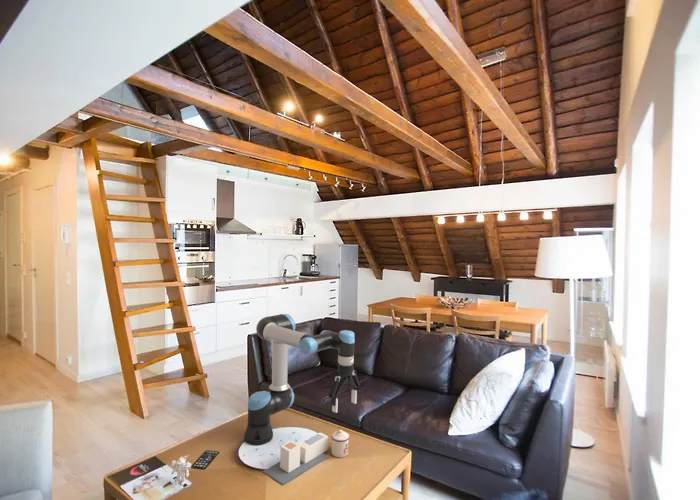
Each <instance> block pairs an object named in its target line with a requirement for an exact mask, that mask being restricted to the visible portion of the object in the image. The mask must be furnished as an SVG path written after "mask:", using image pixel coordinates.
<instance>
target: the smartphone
mask: <svg viewBox="0 0 700 500" xmlns="http://www.w3.org/2000/svg"><path fill="white" fill-rule="evenodd" d="M219 454H220V451H217V450H209V449H208V450H205V451H204V452H203V453H202V454H201V455H200V456H199V457H198V458H197V459H196V460H195V461H194V463H193V464H191V466H190V467H191V468H190V469H194V470H202V471H204V470H206V469H207V468H208V467H209V466H210V465H211V463H212V462H213V461H214V460H215V458H216V457H217V456H218V455H219Z"/></svg>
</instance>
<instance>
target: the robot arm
mask: <svg viewBox="0 0 700 500" xmlns="http://www.w3.org/2000/svg"><path fill="white" fill-rule="evenodd" d="M255 330H256V334H257V336H258V337H259V338H261V339H262V340H265V341H268V342H272V352H271V353H272V355H271V356H272V359H271V360H272V363H271V364H272V365H271V366H272V367H271V369H272V370H271V384H269V386H268V391H267V390H262V391H256V392H254V393H252V394H251V395H250V396H249V397H248V400H247V401H248V403H247V426H246V429H245V431H244V433H243V441H244V442H245V443H246V444H248V445H251V446H261V445H262V446H263V445H265V444H267V443H269V442H270V441H272V440H273V437H274V431H273V428H272V425H271V416H273V415H275V414H277V413H279V412H282V411H285V410H287V409H289V408H290V407H292V406H293V404H294V401H295V393H294V390H293V388H292V387H291V386H290V384H289V383H288V368H289V364H288V363H289V362H288V361H289V358H288V357H289V346H290V347H293V348H297V349H299V350H300V352H301V353H302V354H304V355H313V354H314V353H317V352H320V351H324V350H327V349H335V350H337V351H338V354H337V355H338V356H337V357H338V358H337V362H338V364H337V372H338V375H337V376H336V375H334V377H333V382H332V385H331V388H330V391H329V394H328V398H329V399H331V411H332V412H333V413H335V414H336V413H338V407H339V405H338V403H339V402H338V400H339V399H338V397H339V394H340V392H341V390H342V387H344V385H346V384H348V383H349V384H350V386H351V387H352V388H351V397H350V398H351V400H350V401H351V402H350V403H353V404H354V405H356V404H357V397H358V391H359V390H360V388H361V383H360V380H359V377H358V375H357V374H358V372H357V370H356V369H354V368H355V367H354V363H355V362H354V361H355V359H354V358H355V341H356V339H355V332H354V331H352V330H347V329H344V330H340V331H339V333H338V332H335V331H332V330H322V331H321V332H320V333H319V334H315V335H311V334H307V333H304V332H300V331H296V322H295V320H294V318H293V317H292V315H290V314H289V313H280V314H275V315H270V316H265V317H262V318H261V319H260V320H259V321H258V323H257V324H256V327H255Z"/></svg>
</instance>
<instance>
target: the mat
mask: <svg viewBox="0 0 700 500" xmlns="http://www.w3.org/2000/svg"><path fill="white" fill-rule="evenodd" d="M328 458H329V455H327V454H326V453H324V452H323V453H322V454H320V455H318V456H317V457H315V458H313V459H312V460H310V461H308V462H307V463H304V464H302V463H300V466H299V467H298V468H296V469H294V470H293V471H291V472H289V473H288V472H286V471H285V470H283V469H282V468H280V461H279V462H277V463H275V464H273V465H272V466H270V467H268V468H266V469H264V470H263V471H262V472H263V473H264V474H265V475H267V476H269V478H271V479H272V480H275V481H276V482H278V483H279V484H280V485H282V486H285V485H286V484H288V483H290V482H291V481H293V480H294V479H296V478H298V477H299V476H301V475H303V474H304V473H306V472H307V471H309V470H311V468H314V467H316V466H317V465H318V464H320V463H322V462H323V461H325V460H327V459H328Z"/></svg>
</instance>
